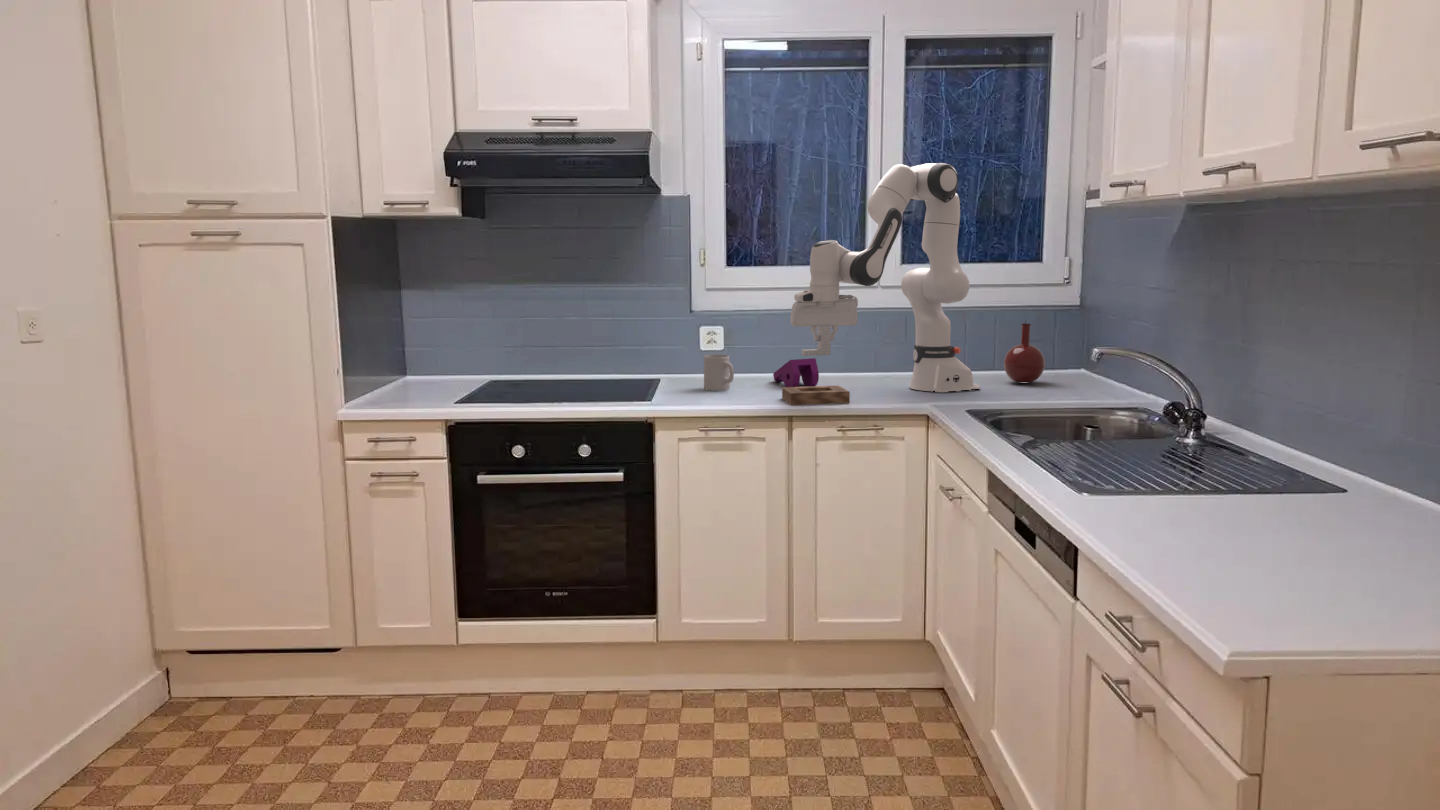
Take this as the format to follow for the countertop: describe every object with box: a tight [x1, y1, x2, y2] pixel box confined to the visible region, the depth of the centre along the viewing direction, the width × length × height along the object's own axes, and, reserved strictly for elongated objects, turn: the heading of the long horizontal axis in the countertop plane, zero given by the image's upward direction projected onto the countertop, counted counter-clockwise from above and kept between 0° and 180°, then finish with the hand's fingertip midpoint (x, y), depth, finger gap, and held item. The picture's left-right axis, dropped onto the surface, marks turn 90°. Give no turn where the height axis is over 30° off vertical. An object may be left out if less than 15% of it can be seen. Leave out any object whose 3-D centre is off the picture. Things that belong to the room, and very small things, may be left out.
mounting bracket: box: [772, 357, 820, 387], centre depth 332 cm, size 9×8×18 cm
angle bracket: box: [800, 325, 832, 357], centre depth 297 cm, size 8×4×9 cm, turn 99°
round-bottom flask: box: [1003, 323, 1046, 383], centre depth 329 cm, size 13×13×20 cm
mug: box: [703, 354, 735, 391], centre depth 322 cm, size 12×8×11 cm
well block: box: [781, 384, 851, 406], centre depth 300 cm, size 18×12×4 cm, turn 99°
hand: (823, 341), depth 298 cm, fingers closed on angle bracket, 3 cm apart
